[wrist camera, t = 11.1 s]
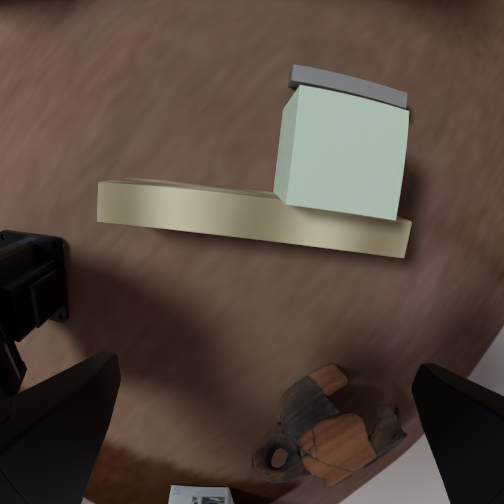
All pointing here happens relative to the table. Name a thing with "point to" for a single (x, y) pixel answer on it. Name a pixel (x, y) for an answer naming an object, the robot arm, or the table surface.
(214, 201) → the wall board
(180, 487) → the light bulb box
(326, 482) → the brown hollow fragmented part
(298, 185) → the cabinet block
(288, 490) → the table surface
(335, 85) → the strip
